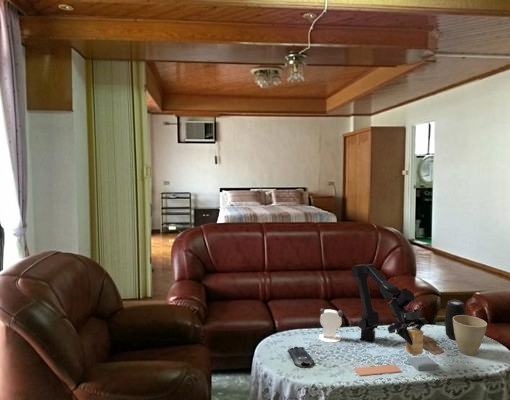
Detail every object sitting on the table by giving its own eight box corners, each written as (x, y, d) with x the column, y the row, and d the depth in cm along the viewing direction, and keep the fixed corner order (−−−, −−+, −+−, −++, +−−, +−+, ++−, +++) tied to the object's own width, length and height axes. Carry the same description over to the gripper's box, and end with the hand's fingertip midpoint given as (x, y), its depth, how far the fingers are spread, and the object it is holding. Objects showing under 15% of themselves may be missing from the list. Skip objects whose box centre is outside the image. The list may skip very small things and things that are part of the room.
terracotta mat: (359, 376, 180) (359, 375, 180) (353, 369, 186) (353, 368, 186) (401, 372, 184) (401, 370, 184) (394, 365, 190) (395, 364, 190)
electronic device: (285, 357, 201) (296, 368, 186) (286, 345, 201) (297, 355, 187) (303, 358, 203) (315, 368, 188) (304, 346, 203) (316, 356, 189)
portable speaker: (466, 341, 216) (468, 304, 214) (448, 341, 216) (450, 304, 214) (458, 334, 224) (460, 299, 222) (441, 334, 224) (443, 299, 222)
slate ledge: (417, 370, 185) (418, 366, 185) (408, 362, 193) (408, 358, 193) (438, 368, 187) (438, 364, 187) (427, 360, 195) (427, 356, 194)
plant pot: (466, 361, 194) (468, 328, 192) (444, 347, 208) (445, 316, 207) (492, 357, 198) (494, 325, 196) (469, 344, 212) (470, 313, 211)
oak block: (405, 350, 188) (406, 329, 187) (414, 348, 190) (415, 327, 189) (413, 355, 183) (414, 333, 182) (422, 353, 185) (423, 331, 184)
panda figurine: (342, 334, 223) (342, 307, 222) (341, 343, 212) (342, 315, 211) (319, 332, 226) (320, 305, 225) (318, 341, 215) (318, 313, 214)
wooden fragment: (446, 355, 200) (447, 353, 200) (423, 355, 201) (423, 352, 201) (429, 334, 225) (429, 332, 225) (408, 333, 226) (408, 331, 226)
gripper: (393, 305, 184) (409, 339, 175) (425, 300, 191) (443, 333, 182) (380, 316, 192) (396, 349, 183) (412, 311, 199) (428, 342, 190)
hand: (416, 343), depth 185 cm, fingers closed on oak block, 5 cm apart
